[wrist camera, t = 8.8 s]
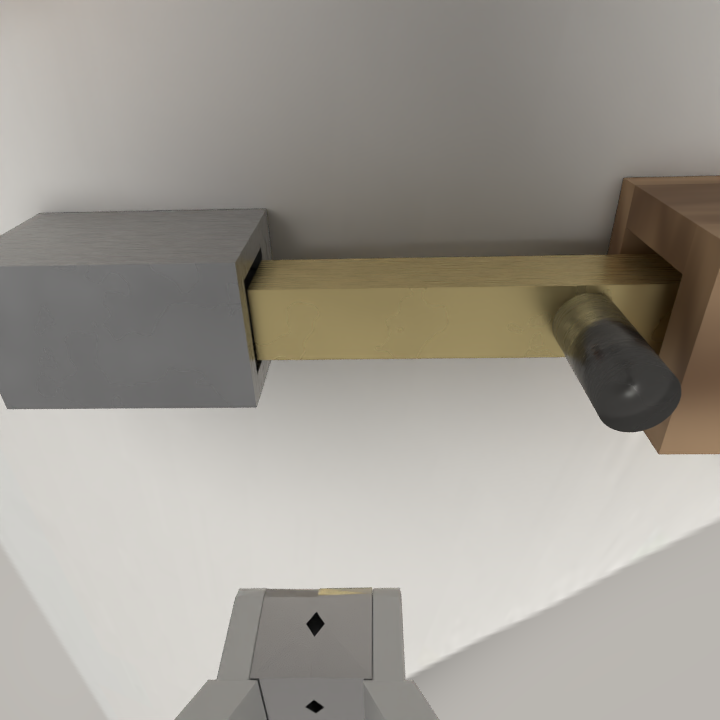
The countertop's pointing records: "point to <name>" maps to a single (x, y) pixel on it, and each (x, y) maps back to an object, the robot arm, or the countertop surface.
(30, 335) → the sleeve
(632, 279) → the yellow bar with knob
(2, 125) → the countertop surface
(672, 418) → the socket
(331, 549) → the countertop surface
